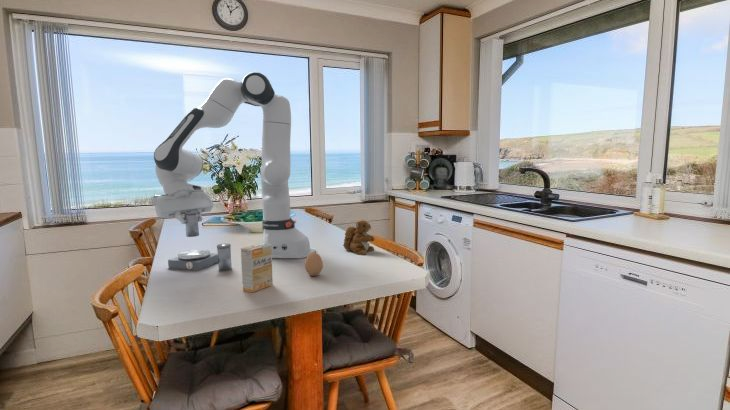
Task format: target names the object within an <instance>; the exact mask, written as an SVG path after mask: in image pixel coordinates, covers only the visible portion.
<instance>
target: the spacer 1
mask: <svg viewBox="0 0 730 410" xmlns="http://www.w3.org/2000/svg"><path fill="white" fill-rule="evenodd" d="M183 216H184V217H186V220H187V222H186V223H185V224H184V225H185V226H184V227H185V236H186V237H187V238H192V237H193V238H194V237H198V236H200V230H199V228H200V227H199V222H198V211H186V212H184V215H183Z"/></svg>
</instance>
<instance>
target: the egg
mask: <svg viewBox="0 0 730 410" xmlns="http://www.w3.org/2000/svg"><path fill="white" fill-rule="evenodd" d="M305 258H306V259H305V261H304V269H305V271H306V273H307V274H308V275H309V276H312V277H315V276H316V277H317V276H318V275H320V273H322V270H323V267H324V264H323V260H322V259H323V258H322V257H321V256H320V254H318V253H317V252H315V253H314V252H313V253H310V254H309V255H308V256H307V257H305Z"/></svg>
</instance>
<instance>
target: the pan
mask: <svg viewBox="0 0 730 410" xmlns="http://www.w3.org/2000/svg"><path fill="white" fill-rule="evenodd" d="M210 253H211V251H210V250H208V249H192V250H191V249H190V250H186V251H182V252H179V253H178V254H177V257H178V258H179V259H182V260H193V259H200V258H204V257H207V256H209V255H210Z"/></svg>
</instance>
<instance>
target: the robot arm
mask: <svg viewBox="0 0 730 410" xmlns="http://www.w3.org/2000/svg"><path fill="white" fill-rule="evenodd" d="M242 104H247V105H251V106H253V107H260V108H261V109H262V114H263V115H262V118H263V119H262V134H261V137H262V138H261V149H262V150H261V167H260V171H259V172H260V186H261V188H260V189H261V200H262V202H261V203H262V219H261V221H262V222H261V224H262V226H261V227H262V232H263V234H262V243H264V244H270V245H271V250H272V259H303V258H307V256H308V255H309V254H310V253H313V252H314V253H316V248H315V247H312V246H311V244H310V239H309V237H308V236H307V235H306V234H304V233H303V232H302V231H300V230H299V229H298V228H297V227H295V226H296V223H297V220H296V219H292V218H291V217H292V216H291V198H290V190H289V179H290V177H291V135H292V131H291V130H292V112H291V104H290V101H289V99H288V98H287V97H285V96H283V95H280V94H275V90H274V89H273V86H272V84H271V81H270V80H269V78H268V77H267V76H266V75H265V74H263V73H261V72H258V71H253V72H252V71H251V72H249V73H247V74H246V75H245V76H243V79H242V80H241V81H237V80H236V79H233V78H229V77H225V78H222V79H221V80H220V81H219V82H218V83H217V84H216V85H215V86H214V88H213V89H212V90H211V92H210V94H209V95H208V97H207V98H206V100H205V101H204V102H203V103H202V104H201V105H200V106H198V107H194V108H192V109H191V110H190V111H189V112H187V114H186V115H185V116H184V118H183V119H182V120H181V121H180V122H179V123H178V125H177V126H176V127H175V128H174V129H173V130H172V132H171V133H170V134H169V135H168V137H167V138H166V139H165V140H164V141H163V142H161V143H160V144H159V145H158V146H157V147H156V148H155V150H154V152H153V160H154V163H155V174H156V177H157V180H158V182H159V184H160V186H161V187H162V188H163V193H164V194H160V195H159V194H155V195H154V196H152V197H151V199H150V200H151V203H152V205H154V210H155V213H156V216H157V217H159V218H160V219H162V218H170V217H174V218H175V219H176V220H177V221H179V222H180V224H181V225H185V223H186V222H187V220H186V217H185V215H184V212H186V211H198V223H200V222H203V217H202V213H211V212H212V210H213V208H214V203H213V201H212V199H211V197H210V195H209V194H208V193H207V192H205V188H204V186H201V185H197V184H196V185H195V184H191V183H188V182H191V181H192V180H193V179H195V178H196V177H198V176H199V175H200V174H201V173H202V171H203V168H204V161H203V158H202V157H201V156H200V155H198V154H196V153H194V152H192V151H189V150H187V149H185V148H183V147H184V145H185V144H186V143H187V142H188V140H189V139H190V138H191V137H192V135H193V134H194V133H195V132H196V131H197V130H199V129H203V128H205V129H206V128H209V129H210V128H213V129H218V128H223V127H226V126H227V125H228V124H229V123H230V122H231V121H232V119H233V117H234V116H235V113H237V110H238V108H239V107H240V106H241V105H242Z"/></svg>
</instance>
